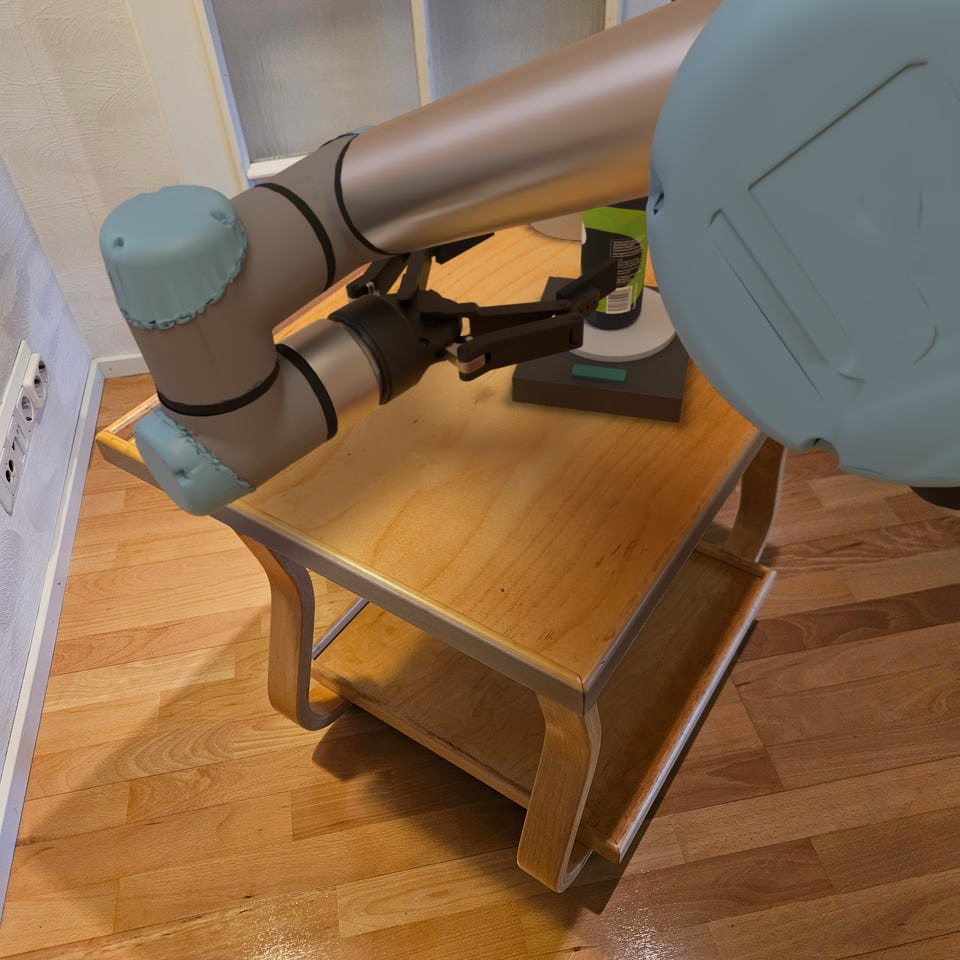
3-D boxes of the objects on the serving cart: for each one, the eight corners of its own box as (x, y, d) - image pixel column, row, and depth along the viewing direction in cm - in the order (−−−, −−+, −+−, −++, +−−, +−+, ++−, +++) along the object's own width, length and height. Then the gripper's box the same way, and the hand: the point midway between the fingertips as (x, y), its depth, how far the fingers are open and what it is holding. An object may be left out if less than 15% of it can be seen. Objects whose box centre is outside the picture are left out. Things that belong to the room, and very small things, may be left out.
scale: (694, 314, 90) (698, 283, 87) (678, 423, 78) (683, 391, 75) (548, 299, 93) (549, 269, 90) (512, 401, 81) (511, 370, 78)
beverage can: (650, 307, 84) (666, 164, 74) (624, 339, 81) (638, 194, 70) (594, 291, 87) (602, 151, 76) (567, 322, 83) (572, 180, 72)
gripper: (264, 338, 68) (450, 237, 78) (477, 483, 55) (667, 340, 65) (241, 257, 63) (443, 160, 73) (470, 397, 50) (678, 255, 60)
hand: (549, 244), depth 69 cm, fingers open, 13 cm apart
